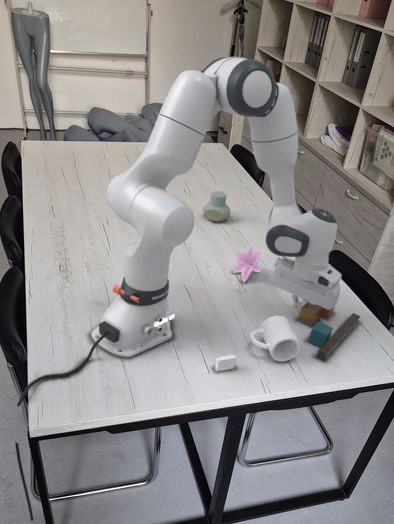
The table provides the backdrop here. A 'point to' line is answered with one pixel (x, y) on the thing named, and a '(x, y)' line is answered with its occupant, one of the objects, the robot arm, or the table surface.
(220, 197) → the air freshener
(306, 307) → the oak block
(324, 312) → the terracotta block
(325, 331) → the teal block
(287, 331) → the mug
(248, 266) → the lily
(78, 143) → the table surface
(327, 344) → the straightedge
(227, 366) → the eraser
